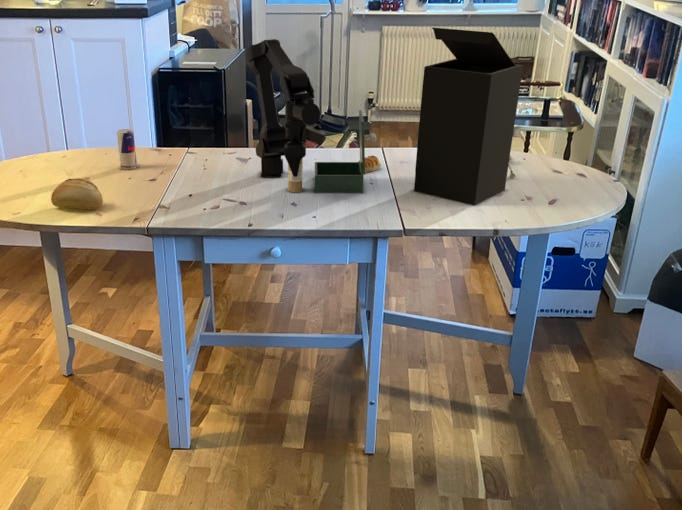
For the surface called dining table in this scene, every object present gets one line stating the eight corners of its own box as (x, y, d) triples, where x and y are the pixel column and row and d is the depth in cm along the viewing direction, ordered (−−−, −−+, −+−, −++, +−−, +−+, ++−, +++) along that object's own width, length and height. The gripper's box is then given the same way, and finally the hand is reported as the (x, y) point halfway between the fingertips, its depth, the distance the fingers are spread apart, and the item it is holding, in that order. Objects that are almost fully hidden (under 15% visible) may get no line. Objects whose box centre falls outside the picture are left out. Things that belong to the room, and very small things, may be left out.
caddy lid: (361, 121, 211) (377, 120, 211) (358, 110, 223) (374, 109, 223) (362, 174, 219) (377, 173, 218) (359, 160, 231) (374, 159, 231)
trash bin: (412, 191, 222) (426, 27, 199) (446, 177, 234) (462, 20, 211) (473, 205, 210) (495, 33, 187) (505, 190, 222) (530, 26, 199)
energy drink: (135, 169, 245) (131, 132, 239) (119, 170, 245) (115, 133, 239) (138, 165, 250) (134, 128, 244) (122, 165, 250) (118, 129, 244)
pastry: (365, 174, 237) (366, 163, 235) (348, 171, 241) (348, 159, 239) (382, 168, 243) (382, 156, 241) (365, 164, 247) (365, 153, 245)
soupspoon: (512, 161, 250) (491, 161, 251) (513, 151, 248) (492, 151, 249) (522, 178, 231) (501, 178, 232) (524, 167, 229) (502, 168, 230)
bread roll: (59, 201, 218) (54, 174, 214) (108, 202, 217) (105, 175, 213) (47, 212, 210) (42, 184, 206) (99, 213, 209) (95, 185, 205)
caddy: (314, 192, 222) (314, 175, 220) (314, 178, 235) (314, 161, 232) (362, 192, 222) (363, 175, 219) (360, 178, 234) (361, 162, 231)
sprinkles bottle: (287, 188, 226) (287, 143, 219) (302, 188, 226) (303, 143, 219) (287, 193, 222) (287, 147, 216) (303, 192, 222) (303, 147, 215)
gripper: (323, 125, 205) (323, 180, 213) (323, 111, 221) (322, 163, 229) (283, 125, 206) (284, 181, 213) (285, 112, 222) (286, 164, 230)
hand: (295, 172), depth 221 cm, fingers open, 9 cm apart
